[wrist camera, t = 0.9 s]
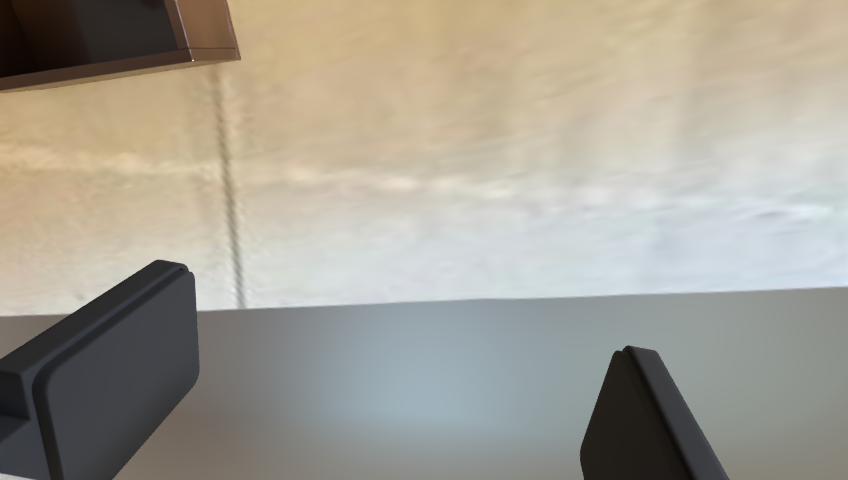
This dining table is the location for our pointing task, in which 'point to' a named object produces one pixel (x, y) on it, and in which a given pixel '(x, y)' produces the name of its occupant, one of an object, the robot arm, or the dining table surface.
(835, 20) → the dining table surface
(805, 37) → the dining table surface
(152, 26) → the brown wooden box
